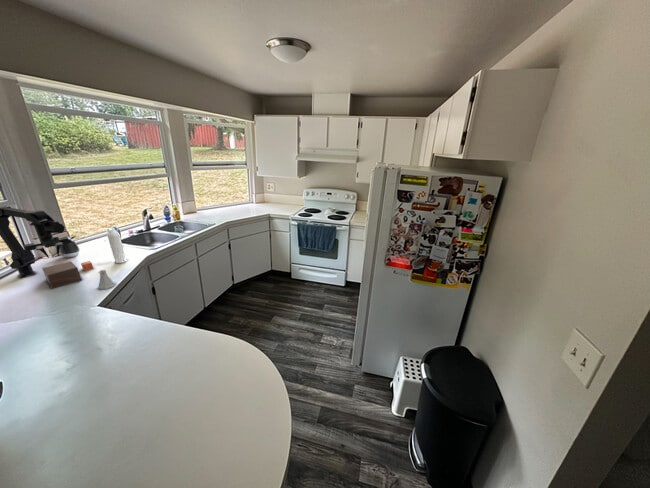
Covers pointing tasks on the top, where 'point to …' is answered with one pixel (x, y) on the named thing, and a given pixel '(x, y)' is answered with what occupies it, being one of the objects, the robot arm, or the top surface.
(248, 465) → the top surface
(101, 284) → the flask
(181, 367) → the top surface
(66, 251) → the black rounded dome
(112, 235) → the white statue
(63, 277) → the cabinet
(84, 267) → the block
